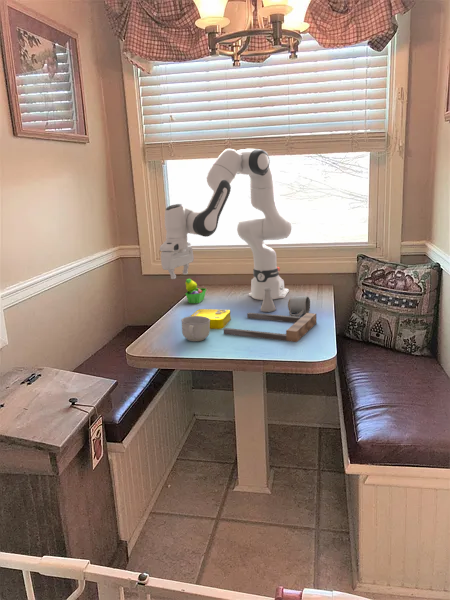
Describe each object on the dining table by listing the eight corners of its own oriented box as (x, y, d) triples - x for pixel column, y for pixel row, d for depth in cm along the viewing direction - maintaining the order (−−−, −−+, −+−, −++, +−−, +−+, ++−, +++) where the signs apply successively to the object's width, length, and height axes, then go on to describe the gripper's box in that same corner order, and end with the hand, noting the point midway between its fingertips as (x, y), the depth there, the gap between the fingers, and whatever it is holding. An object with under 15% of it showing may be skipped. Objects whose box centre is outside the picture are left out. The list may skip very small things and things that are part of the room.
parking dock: (248, 316, 221) (248, 308, 220) (316, 323, 207) (316, 313, 206) (223, 333, 201) (223, 324, 200) (296, 342, 187) (296, 331, 186)
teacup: (190, 333, 203) (188, 314, 201) (215, 335, 199) (214, 315, 197) (174, 345, 191) (172, 324, 189) (200, 347, 187) (199, 326, 185)
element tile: (198, 318, 225) (198, 307, 223) (231, 319, 221) (231, 308, 219) (187, 328, 211) (186, 317, 209) (222, 329, 207) (222, 318, 206)
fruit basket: (200, 304, 246) (198, 281, 243) (183, 303, 248) (181, 281, 245) (207, 298, 257) (206, 276, 254) (190, 297, 259) (189, 276, 256)
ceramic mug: (292, 310, 228) (292, 293, 225) (310, 311, 224) (310, 294, 222) (285, 317, 218) (284, 299, 216) (303, 318, 215) (303, 301, 213)
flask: (275, 312, 225) (274, 290, 223) (259, 312, 227) (258, 290, 224) (277, 308, 232) (276, 286, 230) (261, 308, 234) (260, 286, 231)
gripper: (183, 240, 224) (185, 271, 228) (157, 247, 207) (160, 281, 210) (196, 240, 222) (198, 272, 225) (170, 247, 204) (173, 281, 207)
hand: (179, 276), depth 217 cm, fingers open, 8 cm apart
